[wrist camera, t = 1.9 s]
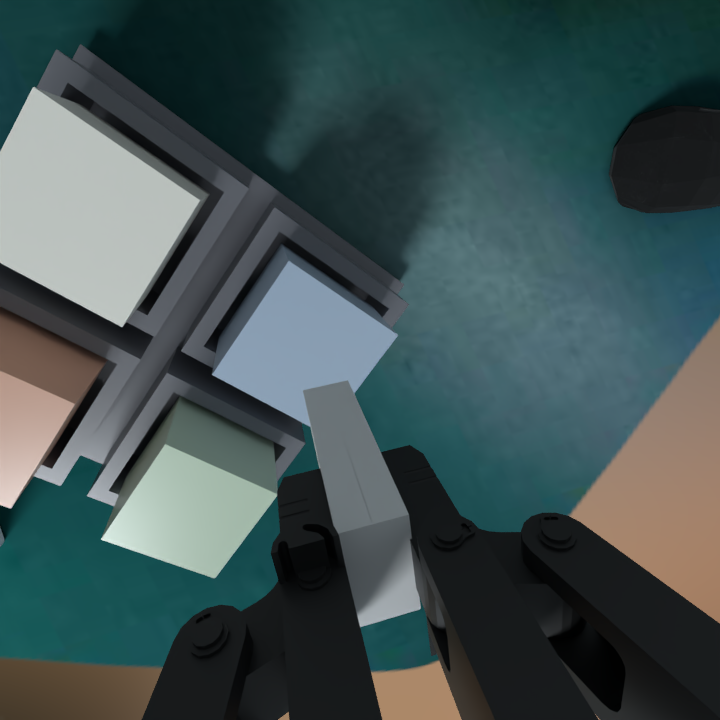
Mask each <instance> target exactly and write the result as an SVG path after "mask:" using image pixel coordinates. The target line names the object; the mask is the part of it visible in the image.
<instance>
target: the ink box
mask: <svg viewBox="0 0 720 720" xmlns="http://www.w3.org/2000/svg"><path fill="white" fill-rule="evenodd" d="M3 543H4V536H3V534H2V531H1V528H0V547H1V545H2V544H3Z"/></svg>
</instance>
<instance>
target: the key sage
mask: <svg viewBox="0 0 720 720" xmlns="http://www.w3.org/2000/svg"><path fill="white" fill-rule="evenodd" d="M277 491H278V488H277V477H276V465H275V454H274V443H273V441H271V440H269V439H267V438H265V437H263V436H261V435H259V434H257V433H255V432H253V431H251V430H249V429H247V428H245V427H243V426H241V425H239V424H237V423H235V422H233V421H231V420H229V419H227V418H225V417H223V416H221V415H218V414H216V413H214V412H212V411H210V410H208V409H206V408H204V407H202V406H200V405H198V404H196V403H194V402H192V401H190V400H188V399H186V398H184V397H182V396H179V398H178V399H177V401H176V402H175V404H174V405H173V407H172V408H171V410H170V411H169V413H168V414H167V416H166V417H165V419H164V420H163V422H162V423H161V425H160V426H159V428H158V429H157V431H156V432H155V434H154V435H153V437H152V438H151V440H150V441H149V443H148V444H147V446H146V448H145V449H144V451H143V452H142V454H141V455H140V457H139V458H138V460H137V461H136V463H135V464H134V466H133V467H132V469H131V470H130V472H129V473H128V475H127V476H126V478H125V481H124V483H123V486H122V488H121V491H120V493H119V496H118V498H117V501H116V503H115V506H114V508H113V511H112V513H111V516H110V518H109V521H108V523H107V526H106V528H105V531H104V533H103V536H102V538H101V540H104V541H107V542H110V543H112V544H115V545H118V546H121V547H124V548H127V549H130V550H133V551H136V552H139V553H142V554H145V555H148V556H150V557H153V558H156V559H159V560H162V561H165V562H168V563H171V564H174V565H177V566H180V567H183V568H185V569H188V570H191V571H194V572H197V573H200V574H203V575H206V576H209V577H212V578H216V576H217V575H218V574H219V572H220V571H221V570H222V568H223V567H224V566H225V564H226V563H227V562H228V560H229V559H230V558H231V556H232V555H233V554H234V552H235V551H236V550H237V548H238V547H239V546H240V544H241V543H242V542H243V540H244V539H245V538H246V536H247V535H248V534H249V532H250V531H251V530H252V528H253V527H254V526H255V524H256V523H257V522H258V520H259V519H260V518H261V517H262V515H263V514H264V513H265V511H266V510H267V509H268V507H269V506H270V505H271V503H272V502H273V501H274V499H275V498H276V497H277Z"/></svg>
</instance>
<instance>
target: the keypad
mask: <svg viewBox="0 0 720 720" xmlns="http://www.w3.org/2000/svg"><path fill="white" fill-rule="evenodd" d="M37 88H38V89H40V90H43V91H46V92H48V93H51V94H54V95H56V96H59V97H62V98H64V99H67V100H70V101H72V102H75V103H78V104H80V105H83V106H84V107H86V108H87V109H88V110H90V111H91V112H93V113H94V114H96V115H97V116H99V117H100V118H101V119H103V120H104V121H106V122H107V123H109V124H110V125H112V126H113V127H114V128H116V129H117V130H119V131H120V132H122V133H123V134H125V135H126V136H127V137H129V138H130V139H132V140H133V141H135V142H136V143H137V144H139V145H140V146H142V147H143V148H145V149H146V150H148V151H149V152H150V153H152V154H153V155H155V156H156V157H158V158H159V159H161V160H162V161H163V162H165V163H166V164H168V165H169V166H171V167H172V168H174V169H175V170H176V171H178V172H179V173H181V174H182V175H184V176H185V177H187V178H188V179H189V180H191V181H192V182H194V183H195V184H197V185H198V186H200V187H201V188H202V189H204V190H205V191H207V192H208V193H210V195H209V196H208V198H207V200H206V201H205V203H204V205H203V206H202V208H201V209H200V211H199V213H198V214H197V216H196V218H195V219H194V221H193V222H192V224H191V226H190V227H189V229H188V230H187V232H186V234H185V235H184V237H183V239H182V240H181V242H180V243H179V245H178V247H177V248H176V250H175V252H174V253H173V255H172V256H171V258H170V260H169V261H168V263H167V265H166V266H165V268H164V269H163V271H162V273H161V274H160V276H159V278H158V279H157V281H156V282H155V284H154V286H153V287H152V289H151V291H150V292H149V294H148V295H147V297H146V298H145V299H144V301H143V302H142V303H141V304H140V306H139V307H138V308H137V309H136V311H135V312H134V313H133V314H132V316H131V317H130V318H129V319H128V321H127V322H126V323H125V324H124V326H123V327H120V326H119V325H117V324H115V323H113V322H111V321H109V320H107V319H105V318H103V317H102V316H100V315H98V314H96V313H94V312H92V311H90V310H88V309H86V308H84V307H83V306H81V305H79V304H77V303H75V302H73V301H71V300H69V299H67V298H66V297H64V296H62V295H60V294H58V293H56V292H54V291H52V290H50V289H49V288H47V287H45V286H43V285H41V284H39V283H37V282H35V281H33V280H31V279H30V278H28V277H26V276H24V275H22V274H20V273H18V272H16V271H14V270H13V269H11V268H9V267H7V266H5V265H3V264H1V263H0V307H2V308H4V309H6V310H8V311H10V312H12V313H14V314H16V315H19V316H21V317H23V318H25V319H27V320H29V321H31V322H33V323H35V324H37V325H39V326H41V327H43V328H45V329H47V330H49V331H51V332H53V333H55V334H57V335H59V336H61V337H63V338H65V339H67V340H69V341H71V342H73V343H75V344H77V345H79V346H81V347H83V348H85V349H87V350H89V351H91V352H93V353H95V354H97V355H99V356H101V357H103V358H105V359H107V362H106V364H105V365H104V367H103V368H102V370H101V372H100V373H99V375H98V376H97V378H96V380H95V381H94V383H93V385H92V386H91V388H90V389H89V391H88V393H87V394H86V396H85V398H84V399H83V401H82V402H81V404H80V406H79V407H78V409H77V411H76V412H75V414H74V415H73V417H72V419H71V420H70V422H69V424H68V425H67V427H66V428H65V430H64V432H63V433H62V435H61V437H60V438H59V440H58V441H57V443H56V445H55V446H54V448H53V449H52V451H51V452H50V454H49V455H48V456H47V458H46V459H45V461H44V462H43V464H42V465H41V466H40V468H39V469H38V471H37V472H36V474H35V475H34V476H35V477H38V478H40V479H43V480H46V481H48V482H51V483H54V484H56V485H59V486H61V484H62V483H63V481H64V480H65V478H66V477H67V475H68V473H69V472H70V470H71V469H72V467H73V465H74V464H75V462H76V461H77V459H78V458H79V456H80V455H81V456H84V457H86V458H89V459H91V460H94V461H96V462H99V463H101V464H102V466H101V468H100V470H99V472H98V474H97V476H96V478H95V480H94V482H93V484H92V486H91V489H90V491H89V493H88V495H87V496H88V497H91V498H94V499H96V500H99V501H102V502H104V503H107V504H110V505H112V506H115V503H116V501H117V498H118V496H119V493H120V491H121V488H122V486H123V483H124V481H125V478H126V476H127V475H128V473H129V472H130V470H131V469H132V467H133V466H134V464H135V463H136V461H137V460H138V458H139V457H140V455H141V454H142V452H143V451H144V449H145V448H146V446H147V444H148V443H149V441H150V440H151V438H152V437H153V435H154V434H155V432H156V431H157V429H158V428H159V426H160V425H161V423H162V422H163V420H164V419H165V417H166V416H167V414H168V413H169V411H170V410H171V408H172V407H173V405H174V404H175V402H176V401H177V399H178V398H179V396H182V397H184V398H186V399H188V400H190V401H192V402H194V403H196V404H198V405H200V406H202V407H204V408H206V409H208V410H210V411H212V412H214V413H216V414H218V415H221V416H223V417H225V418H227V419H229V420H231V421H233V422H235V423H237V424H239V425H241V426H243V427H245V428H247V429H249V430H251V431H253V432H255V433H257V434H259V435H261V436H263V437H265V438H267V439H269V440H271V441H273V443H274V454H275V465H276V477H277V481H278V479H279V478H280V477H281V475H282V474H283V473H284V471H285V470H286V469H287V467H288V466H289V465H290V463H291V462H292V461H293V459H294V458H295V457H296V455H297V454H298V453H299V451H300V450H301V449H302V447H303V446H304V445H305V439H304V434H303V429H302V422H300V421H298V420H296V419H295V418H293V417H291V416H289V415H287V414H285V413H283V412H281V411H279V410H278V409H276V408H274V407H272V406H270V405H268V404H266V403H264V402H262V401H260V400H259V399H257V398H255V397H253V396H251V395H249V394H247V393H245V392H243V391H242V390H240V389H238V388H236V387H234V386H232V385H230V384H228V383H226V382H225V381H223V380H221V379H219V378H217V377H215V376H213V375H212V372H213V366H214V361H215V355H216V350H217V344H218V339H219V336H220V335H221V333H222V332H223V330H224V329H225V327H226V326H227V324H228V323H229V321H230V320H231V318H232V317H233V315H234V314H235V312H236V311H237V309H238V308H239V306H240V305H241V303H242V302H243V300H244V299H245V297H246V296H247V294H248V293H249V291H250V290H251V288H252V287H253V285H254V284H255V282H256V281H257V279H258V278H259V276H260V274H261V273H262V271H263V270H264V268H265V267H266V265H267V264H268V262H269V261H270V259H271V258H272V256H273V255H274V253H275V252H276V250H277V249H278V247H279V246H280V244H281V243H282V244H283V245H285V246H286V247H287V248H289V249H290V250H292V251H293V252H295V253H296V254H298V255H299V256H300V257H302V258H303V259H305V260H306V261H308V262H309V263H311V264H312V265H313V266H315V267H316V268H318V269H319V270H321V271H322V272H324V273H325V274H326V275H328V276H329V277H331V278H332V279H334V280H335V281H337V282H338V283H339V284H341V285H342V286H344V287H345V288H347V289H348V290H350V291H351V292H352V293H354V294H355V295H357V296H358V297H360V298H361V299H362V300H364V301H365V302H367V303H368V304H370V305H371V306H372V307H373V308H374V309H375V310H376V311H377V312H378V313H379V314H380V316H381V317H382V318H383V319H384V320H385V321H386V322H387V323H388V324H389V326H390V327H391V328H392V327H393V326H394V324H395V323H396V321H397V320H398V319H399V317H400V316H401V315H402V313H403V312H404V311H405V309H406V308H407V307H408V305H409V304H408V303H407V302H406V301H404V300H403V299H402V298H401V297H400V296H398V295H397V294H398V293H399V291H400V290H401V289H402V287H403V286H404V284H403V283H402V282H400V281H399V280H398V279H396V278H395V277H393V276H392V275H391V274H389V273H388V272H387V271H385V270H384V269H383V268H381V267H380V266H379V265H377V264H376V263H375V262H373V261H372V260H371V259H369V258H368V257H367V256H365V255H364V254H363V253H361V252H360V251H358V250H357V249H356V248H354V247H353V246H352V245H350V244H349V243H348V242H346V241H345V240H344V239H342V238H341V237H340V236H338V235H337V234H336V233H334V232H333V231H332V230H330V229H329V228H327V227H326V226H325V225H323V224H322V223H321V222H319V221H318V220H317V219H315V218H314V217H313V216H311V215H310V214H309V213H307V212H306V211H305V210H303V209H302V208H301V207H299V206H298V205H296V204H295V203H294V202H292V201H291V200H290V199H288V198H287V197H286V196H284V195H283V194H282V193H280V192H279V191H278V190H276V189H275V188H274V187H272V186H271V185H270V184H268V183H267V182H266V181H264V180H263V179H261V178H260V177H259V176H257V175H256V174H255V173H253V172H252V171H251V170H249V169H248V168H247V167H245V166H244V165H243V164H241V163H240V162H239V161H237V160H236V159H235V158H233V157H232V156H230V155H229V154H228V153H226V152H225V151H224V150H222V149H221V148H220V147H218V146H217V145H216V144H214V143H213V142H212V141H210V140H209V139H208V138H206V137H205V136H204V135H202V134H201V133H199V132H198V131H197V130H195V129H194V128H193V127H191V126H190V125H189V124H187V123H186V122H185V121H183V120H182V119H181V118H179V117H178V116H177V115H175V114H174V113H173V112H171V111H170V110H169V109H167V108H166V107H164V106H163V105H162V104H160V103H159V102H158V101H156V100H155V99H154V98H152V97H151V96H150V95H148V94H147V93H146V92H144V91H143V90H142V89H140V88H139V87H138V86H136V85H135V84H133V83H132V82H131V81H129V80H128V79H127V78H125V77H124V76H123V75H121V74H120V73H119V72H117V71H116V70H115V69H113V68H112V67H111V66H109V65H108V64H107V63H105V62H104V61H102V60H101V59H100V58H98V57H97V56H96V55H94V54H93V53H92V52H90V51H89V50H88V49H86V48H85V47H84V46H82V45H81V44H80V46H79V48H78V49H77V51H76V53H75V55H74V57H73V59H71V58H70V57H68V56H66V55H65V54H63V53H62V52H60V51H58V50H57V49H56V51H55V53H54V55H53V57H52V59H51V61H50V63H49V65H48V67H47V69H46V71H45V73H44V74H43V76H42V78H41V80H40V82H39V84H38V86H37Z"/></svg>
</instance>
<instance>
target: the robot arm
mask: <svg viewBox="0 0 720 720" xmlns="http://www.w3.org/2000/svg"><path fill="white" fill-rule="evenodd" d="M303 394H304V398H305V403H306V408H307V412H308V417H309V422H310V426H311V431H312V436H313V440H314V445H315V450H316V454H317V459H318V464H319V468H320V469H316V470H312V471H308V472H304V473H300V474H296V475H292V476H288V477H284V478H283V480H282V482H281V485H280V487H279V489H278V491H277V497H278V507H279V508H278V510H279V519H280V520H279V523H280V534H279V535H278V536H277V538H276V539H275V541H274V542H273V546H272V551H271V555H272V559H273V562H274V566H275V569H276V573H277V576H278V579H279V580H278V582H277V584H276V585H275V587H274V588H273V589H272V590H271V591H270V592H269V593H268V594H267V595H266V596H265V597H263V598H262V599H261V600H259V601H258V602H256V603H255V604H253V605H251V606H250V607H248V608H246V609H244V610H243V611H239V610H238V609H236V608H234V607H233V606H226V605H218V606H214V607H210V608H206V609H205V610H203V611H201V612H199V613H198V614H196V615H194V616H193V617H192V618H191V619H190V620H189V621H188V622H187V623H186V624H185V625H184V626H183V627H182V628H181V629H180V631H179V633H178V635H177V636H176V638H175V640H174V642H173V644H172V647H171V649H170V651H169V654H168V656H167V659H166V661H165V664H164V666H163V669H162V671H161V674H160V676H159V679H158V681H157V684H156V686H155V688H154V691H153V693H152V696H151V698H150V701H149V704H148V706H147V709H146V711H145V713H144V716H143V718H142V720H278V719H279V718H280V717H282V716H283V715H285V714H286V713H287V712H289V719H290V720H382V717H381V713H380V708H379V705H378V700H377V696H376V692H375V688H374V683H373V680H372V675H371V671H370V667H369V662H368V658H367V654H366V650H365V646H364V642H363V637H362V633H361V629H360V627H362V626H365V625H369V624H372V623H375V622H379V621H382V620H385V619H389V618H392V617H396V616H399V615H402V614H406V613H409V612H412V611H416V610H419V609H421V607H420V599H421V602H422V604H423V607H424V609H425V612H426V617H427V625H428V634H429V642H430V649H431V656H433V655H436V653H437V655H438V658H439V661H440V663H441V666H442V668H443V671H444V673H445V676H446V679H447V682H448V684H449V687H450V690H451V692H452V695H453V697H454V700H455V703H456V706H457V708H458V711H459V713H460V716H461V719H462V720H598V718H599V719H600V720H720V624H719V623H718V622H717V621H715V620H714V619H713V618H711V617H710V616H708V615H707V614H706V613H704V612H703V611H701V610H700V609H699V608H697V607H696V606H695V605H693V604H692V603H691V602H689V601H688V600H686V599H685V598H684V597H682V596H681V595H680V594H678V593H677V592H675V591H674V590H673V589H671V588H670V587H669V586H667V585H666V584H664V583H663V582H662V581H660V580H659V579H658V578H656V577H655V576H653V575H652V574H651V573H649V572H648V571H646V570H645V569H644V568H642V567H641V566H640V565H638V564H637V563H636V562H634V561H633V560H631V559H630V558H628V557H627V556H626V555H625V554H623V553H622V552H620V551H619V550H618V549H616V548H615V547H614V546H612V545H611V544H609V543H608V542H607V541H605V540H604V539H603V538H601V537H600V536H598V535H597V534H596V533H594V532H593V531H592V530H590V529H589V528H587V527H586V526H585V525H583V524H582V523H581V522H579V521H577V520H575V519H573V518H571V517H569V516H566V515H562V514H558V513H541V514H538V515H534V516H531V517H530V518H529V519H528V520H527V521H526V522H524V524H523V527H522V530H521V532H489V531H485V530H481V529H479V528H478V527H477V526H476V525H475V524H474V523H473V522H472V521H470V520H468V519H466V518H464V517H462V516H461V515H460V514H459V513H458V511H457V509H456V508H455V506H454V504H453V503H452V501H451V499H450V498H449V496H448V494H447V493H446V491H445V489H444V488H443V486H442V484H441V483H440V481H439V479H438V478H437V477H436V474H435V473H434V471H433V469H432V468H431V467H430V464H429V463H428V461H427V459H426V458H425V456H424V454H423V453H421V452H420V451H418V450H416V449H415V448H413V447H412V446H410V445H409V446H404V447H400V448H396V449H392V450H388V451H384V452H380V450H379V448H378V445H377V443H376V441H375V439H374V437H373V434H372V432H371V430H370V428H369V426H368V423H367V421H366V419H365V417H364V415H363V412H362V410H361V408H360V406H359V404H358V401H357V399H356V397H355V395H354V393H353V390H352V388H351V386H350V384H349V382H348V380H347V381H342V382H338V383H333V384H329V385H324V386H320V387H315V388H311V389H306V390H303ZM419 597H420V599H419ZM595 714H596V715H597V716H598V718H597V717H596V715H595Z"/></svg>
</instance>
